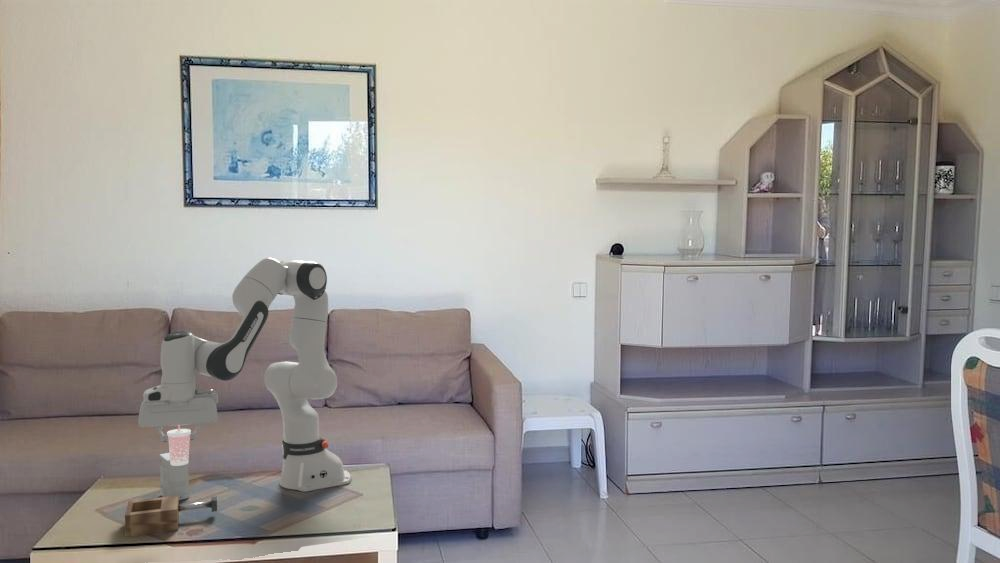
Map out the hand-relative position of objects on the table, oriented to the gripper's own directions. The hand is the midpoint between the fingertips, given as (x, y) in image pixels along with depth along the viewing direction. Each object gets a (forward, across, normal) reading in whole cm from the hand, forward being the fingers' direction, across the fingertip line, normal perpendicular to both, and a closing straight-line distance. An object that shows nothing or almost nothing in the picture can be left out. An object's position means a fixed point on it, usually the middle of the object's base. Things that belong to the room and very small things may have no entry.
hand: (178, 440), depth 216 cm
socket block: (+24, +7, -3) cm, 25 cm away
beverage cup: (+7, 0, 0) cm, 7 cm away
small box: (+24, +2, -25) cm, 34 cm away
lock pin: (+22, -4, -4) cm, 23 cm away
